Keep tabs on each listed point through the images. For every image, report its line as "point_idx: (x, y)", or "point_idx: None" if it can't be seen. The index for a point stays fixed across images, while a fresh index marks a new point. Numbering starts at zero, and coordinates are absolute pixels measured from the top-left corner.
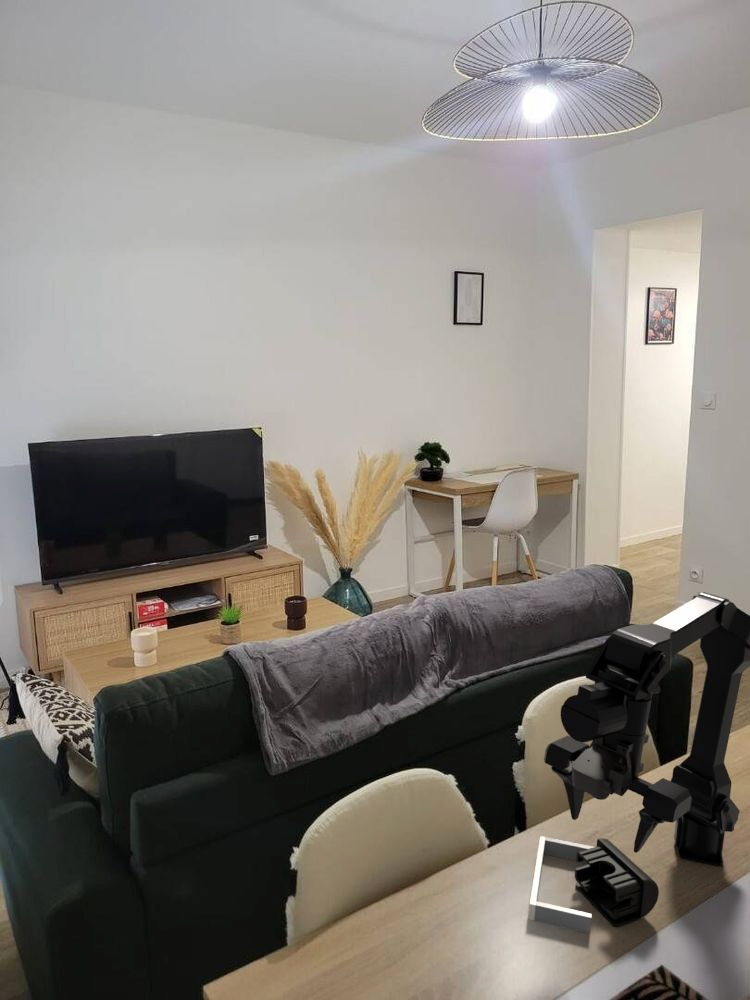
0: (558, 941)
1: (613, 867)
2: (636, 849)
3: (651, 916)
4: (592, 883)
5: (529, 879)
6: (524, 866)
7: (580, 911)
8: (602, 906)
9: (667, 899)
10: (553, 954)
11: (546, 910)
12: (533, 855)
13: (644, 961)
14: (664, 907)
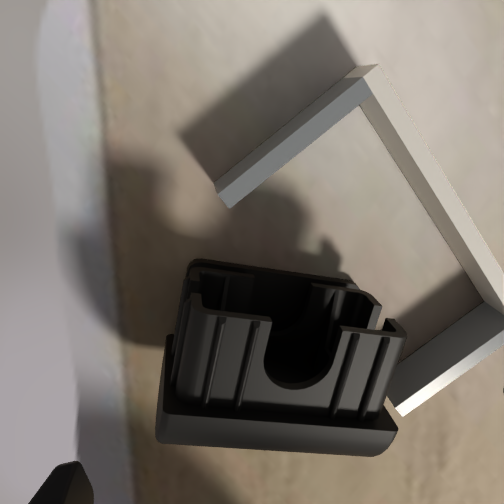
0: (244, 76)
1: (286, 383)
2: (50, 484)
3: None
4: (322, 316)
5: None
6: (493, 221)
7: (256, 186)
8: (246, 274)
9: None
10: (216, 18)
11: (328, 100)
12: None
13: (59, 233)
14: None
